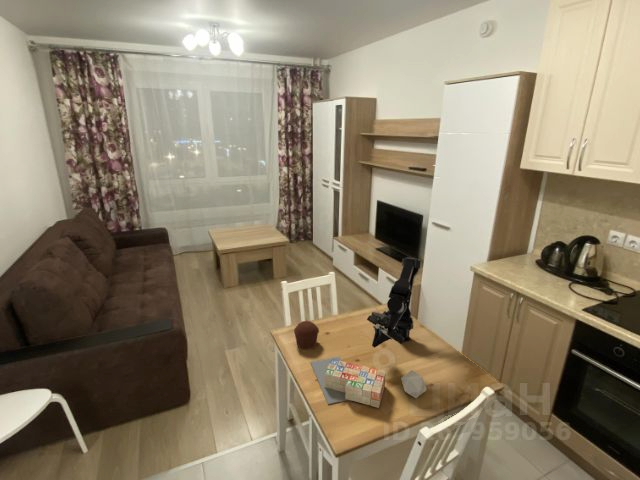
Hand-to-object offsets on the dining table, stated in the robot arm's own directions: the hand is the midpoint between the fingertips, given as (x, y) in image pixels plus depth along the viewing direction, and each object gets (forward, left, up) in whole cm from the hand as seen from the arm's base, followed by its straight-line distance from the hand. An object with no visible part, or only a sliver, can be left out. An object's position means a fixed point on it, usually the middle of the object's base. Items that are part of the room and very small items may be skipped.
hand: (373, 346), depth 136 cm
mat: (+17, +2, -10) cm, 20 cm away
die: (-8, +17, -10) cm, 22 cm away
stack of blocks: (+8, +5, -6) cm, 11 cm away
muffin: (+22, -24, -10) cm, 33 cm away
